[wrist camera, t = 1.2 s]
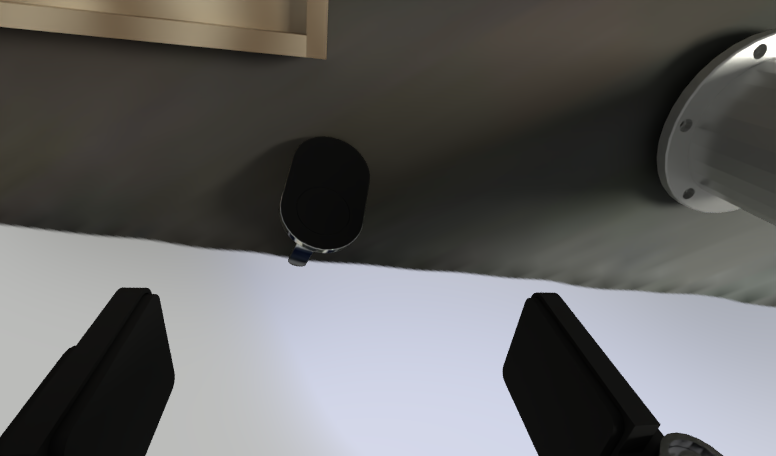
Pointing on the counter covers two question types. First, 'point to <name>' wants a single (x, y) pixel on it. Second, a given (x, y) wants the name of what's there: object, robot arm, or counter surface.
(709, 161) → the robot arm
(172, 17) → the beech platter
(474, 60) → the counter surface
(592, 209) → the counter surface
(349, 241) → the stand
